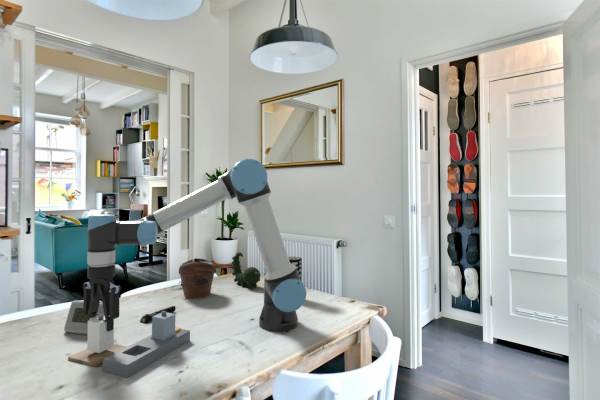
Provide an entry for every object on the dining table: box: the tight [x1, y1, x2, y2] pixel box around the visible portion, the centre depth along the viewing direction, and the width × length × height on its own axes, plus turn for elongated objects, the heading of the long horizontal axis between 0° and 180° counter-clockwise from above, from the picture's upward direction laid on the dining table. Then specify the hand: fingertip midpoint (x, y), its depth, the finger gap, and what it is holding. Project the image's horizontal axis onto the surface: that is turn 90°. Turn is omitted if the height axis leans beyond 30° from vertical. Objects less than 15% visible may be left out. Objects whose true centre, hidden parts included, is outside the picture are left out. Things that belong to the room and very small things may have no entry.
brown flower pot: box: [178, 257, 217, 299], centre depth 172 cm, size 18×20×18 cm
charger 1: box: [86, 315, 115, 353], centre depth 106 cm, size 5×5×10 cm
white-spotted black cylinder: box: [288, 256, 303, 281], centre depth 166 cm, size 8×8×20 cm
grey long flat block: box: [102, 326, 191, 379], centre depth 107 cm, size 9×26×4 cm, turn 159°
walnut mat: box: [67, 343, 128, 368], centre depth 106 cm, size 12×12×1 cm
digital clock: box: [63, 300, 105, 336], centre depth 124 cm, size 16×9×11 cm, turn 68°
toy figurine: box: [231, 251, 261, 289], centre depth 190 cm, size 9×19×25 cm
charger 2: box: [151, 311, 176, 341], centre depth 112 cm, size 5×5×10 cm
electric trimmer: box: [139, 305, 176, 324], centre depth 140 cm, size 4×16×3 cm, turn 151°
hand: (100, 339), depth 106 cm, fingers closed on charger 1, 5 cm apart
